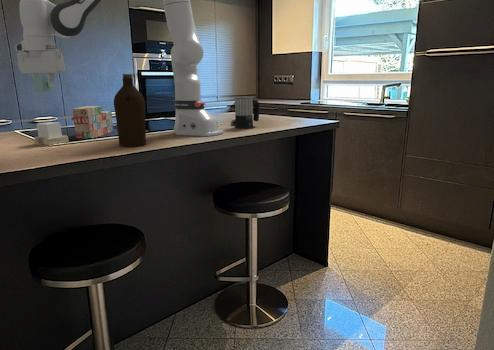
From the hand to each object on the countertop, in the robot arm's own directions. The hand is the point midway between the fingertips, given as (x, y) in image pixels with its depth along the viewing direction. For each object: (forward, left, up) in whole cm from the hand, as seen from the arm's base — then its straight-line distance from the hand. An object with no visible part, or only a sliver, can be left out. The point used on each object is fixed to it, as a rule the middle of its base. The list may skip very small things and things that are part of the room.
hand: (44, 86), depth 131 cm
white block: (0, 0, -18) cm, 18 cm away
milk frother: (-42, -74, -21) cm, 88 cm away
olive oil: (-29, -11, -21) cm, 37 cm away
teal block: (0, 0, -2) cm, 2 cm away
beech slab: (0, 0, -21) cm, 21 cm away
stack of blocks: (+2, -22, -21) cm, 31 cm away
